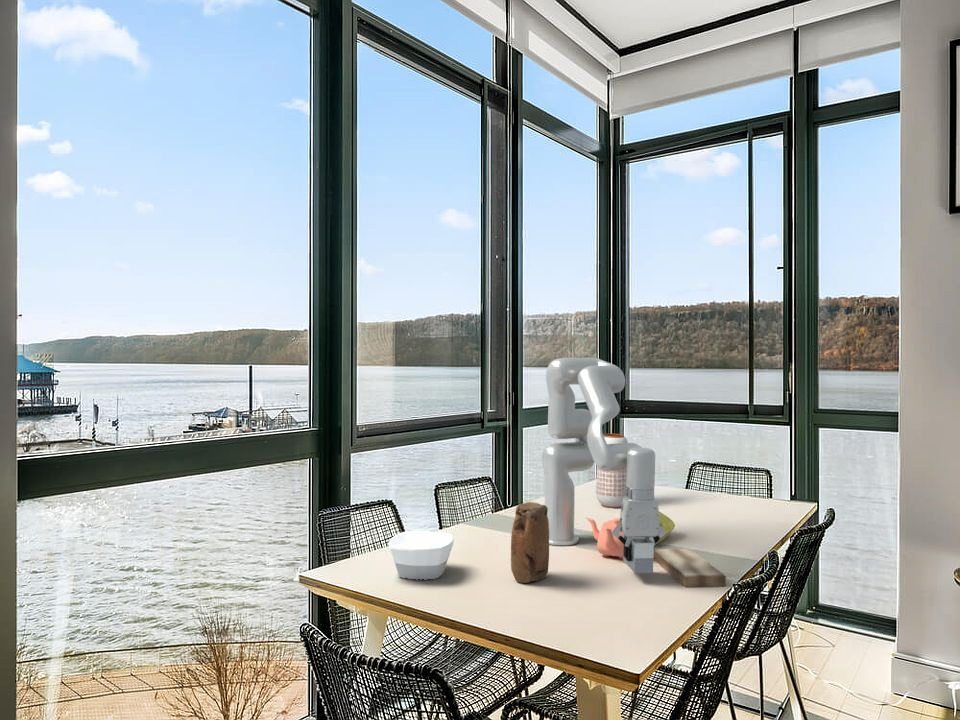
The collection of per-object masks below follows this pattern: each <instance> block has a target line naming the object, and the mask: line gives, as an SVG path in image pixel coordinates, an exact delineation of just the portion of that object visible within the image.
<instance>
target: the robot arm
mask: <svg viewBox="0 0 960 720" xmlns="http://www.w3.org/2000/svg"><path fill="white" fill-rule="evenodd" d="M545 381H546V388H547V392H548V407H547V408H548V410H547V413H548V414H547V431H548V433H549V436H550V437H551V438H553V439H556V440H570V439H571V440H572V439H575V441H570V442H555V443H550V444H548V445H546V446H545V447H544V449H543V450H542V454H541V461H542V462H541V463H542V466H543V473H544V505H545V506H547V508H548V512H547V517H548V520H549V545H550V546H551V545H553V546H572V545H576V544H578V543H579V542H580V538H579V536H578V535H576V534H575V493H576V492H575V485H574V481H573V480H572V478H571V476H570V475H569V473H572V472H574V473H575V472H583V471H584V472H585V471H589V470H590V469H591V468H592V467H593V466H594V464H595V466H596V468H597V467H598V468H599V469H601V470H603V471H618V470H627V473H626V486H625V489H624V490H621V494H624V495H625V496H626V497H624V498H623V502H622V507H621V508H620V512H619V513H620V514H619V519H620V523H619V524H618V525H617V526H616V527H615V529H614V530H613V531H612V534H613V535H614V536H615V537H616V538H618V539H619V540H620V541H621V542H622V543H623V544H624V551H623V555H624V557H625V559H626V560H627V561H631V547H630V542H631V539H632V537H648V538H649V539H650V540H651V541H652V542H653V543H654V547H655V546H656V545H657V544H656V543H657V542H658V541H659V539H660V538H662V537H663V536H664V535H665V534H666V533H665V531H664V530H663V529H662V527H661V526H660V520H659V512H660V510H659V509H660V507H659V502H658V499H657V498H655V479H656V478H655V477H656V453H655V451H654V450H653V449H652V448H649V447H648V448H647V447H643V446H641V445H639V444H638V443H634V442H628V443H617V444H607V443H606V441H605V438H604V436H603V434H604V433H603V425H605V424H606V423H607V422H609V421H611V420H613V419H614V418H615V417H617V415H618V414H619V413H620V411H621V410H620V409H621V408H620V404H619V403H618V401H617V398H616V395H615V394H617V393H620V392H622V391H623V390H624V388H625V385H626V377H625V374H624V372H623V370H622V369H621V368H620V367H619V366H617V365H615V364H613V363H611V362H608V361H605V360H603V359H600V358H596V357H559V358H557V359H553V360H552V361H551V362H549V364H548V366H547V368H546V373H545ZM570 385H572V386H573V385H578V386H579V387H580V389H581V393H582V395H583V397H584V399H585V403H586V405H587V408H588V409H585V408H576V396H575V392H574V391H573V389H572V387H571V386H570ZM620 531H621V532H623V534H624V537H622V536H621V535H620V534H619V532H620ZM655 544H656V545H655Z"/></svg>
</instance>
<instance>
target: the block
mask: <svg viewBox="0 0 960 720" xmlns="http://www.w3.org/2000/svg"><path fill="white" fill-rule="evenodd" d="M547 512H548V508H547V506H545V504H541V503H538V502H533V501H528V502H525V503H519V504H518V505H517V506H516V508H515V516H514V519H513V524H512V528H511V536H510V538H511V539H510V569H511V573H512V574H513V577H514V580H515V582H517V583H518V582H519V583H523V584H525V583H532V582H536V581H540V580H543V579H544V578H546V576H548V573H549V566H550V565H549V563H550V544H549V520H548V517H547Z"/></svg>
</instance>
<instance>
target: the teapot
mask: <svg viewBox="0 0 960 720" xmlns="http://www.w3.org/2000/svg"><path fill="white" fill-rule="evenodd" d="M585 519H587V521H588V522H589V523H590V524H591V529H592V534H593V537H594V539H595V540H596V541H597V551H598V553H599V554H602V556H601V557H604V558H609V557H610V556H611V557H618V558H619V560H621V561H623V551H624V544H623V543H622V542H621V541H620V540H619V539H618V538H616V537H615V536H614V535H613V534H612V531H613V530H614V529H615V527H616V526H617V525H618V524H619V523H620V518H617V517H616V518H613V519H610V520H607V521H605V522H604V523H603V524H602V525H601V527H600V530H599V529H598V526H597V523H596V521H595V520H594V519H592V518H588V517H586V518H585ZM619 534H620V535H621V536H622V537H624V534H623V532H621V531H620V532H619Z"/></svg>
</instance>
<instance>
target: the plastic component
mask: <svg viewBox="0 0 960 720" xmlns="http://www.w3.org/2000/svg"><path fill="white" fill-rule="evenodd" d="M659 520H660V526H661V527H662V529H663V530H664V531H665V533H666V534H665V535H664V536H663V537H662V538H660V539H659V541H658V542H657V543H656V544H655V546H656V545H657V544H660V542H662V541H664V540H665V539H666V538H667V536H668V535H670V534H671V533H672V531H673V530H674V529H675V527H676V524H675V522H674V521H673V519H672V518H670V517H668V516H667V515H666V514H664V513H663V512H661V511H659Z"/></svg>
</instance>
